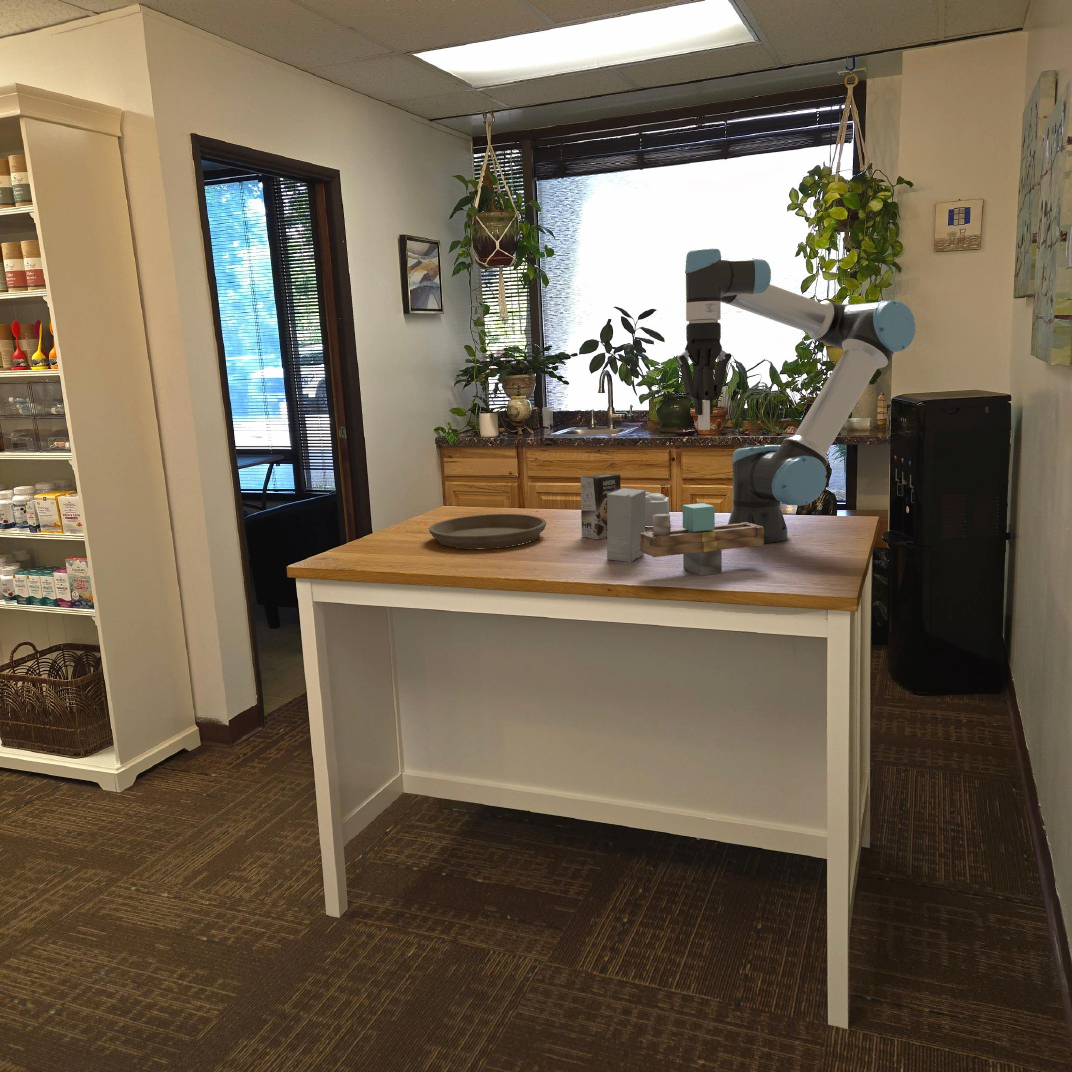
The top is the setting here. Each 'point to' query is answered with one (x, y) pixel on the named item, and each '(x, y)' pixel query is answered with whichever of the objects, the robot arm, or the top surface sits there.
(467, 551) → the top surface
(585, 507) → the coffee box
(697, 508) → the block
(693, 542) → the beam
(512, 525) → the plant saucer
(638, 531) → the skincare box
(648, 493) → the lumpy-topped squat cylinder
